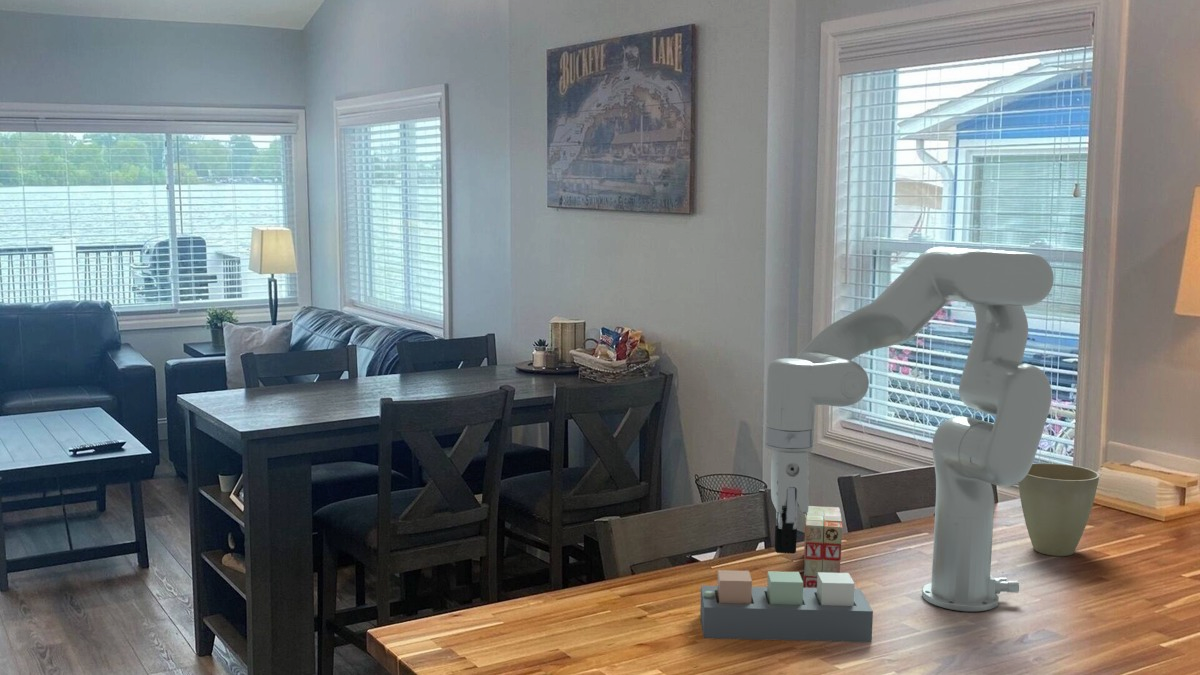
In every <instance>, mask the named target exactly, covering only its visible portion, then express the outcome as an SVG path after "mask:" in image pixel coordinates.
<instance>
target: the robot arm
mask: <svg viewBox="0 0 1200 675" xmlns="http://www.w3.org/2000/svg"><path fill="white" fill-rule="evenodd" d="M1053 285H1054V272H1053V269H1052V266H1051V264H1050V262H1048V261H1047V260H1046V258H1044V257H1043V256H1041V255H1040V254H1037V253H1031V252H1020V251H1007V250H999V249H997V250H996V249H974V248H960V247H958V248H957V247H948V246H946V247H945V246H936V247H932V248H929V249H927V250H925V251H924V252H923V253H921V254H920V255H919V256H918V257H917V258H916V259H915V260H914V261H913V262H912V263H911V264H910V265H909V266H908V267H907V268H906V269H905V270H903V272H901V274H900V275H899V276H898V277H897V278H895V280H894V281H893V282H892V283H891V284H890V285H889V286H888V287H887V288H885V290H883V291H882V292H881V293H880V294H879V295H878V296H877V297H876V298H875V299H874V300H873V301H872V302H870V303H869V304H867V305H865V306H862V307H861V308H858V309H857V310H854V311H853V312H851V313H849V314H847V315H845V316H843V317H842V318H840V319H838V320H836V321H834V322H833V323H831V324H830V325H828V326H827V327H825V328H824V329H823V330H821V331H820V332H818V334H817V335H815V336H814V338H812V339H811V340H810V341H809V342H808V343H807V344H806V346H804V348H802V350H800V352H799V353H798V354H797V356H796V357H795V358H791V357H790V358H789V357H788V358H787V357H786V358H777V359H774V360H772V361H771V362H770V363H769V364H768V367H767V375H766V380H767V382H766V405H765V408H766V409H765V433H764V436H765V437H764V447H765V448H766V449H768V450H771V465H770V496H771V502H772V504H773V506H774V509H775V510H776V513H775V514H776V522H775V524H776V525H775V527H774V550H775V552H776V553H777V554H796V552H797V537H798V536H797V534H798V529H797V523H798V522H797V520H798V508H799V510H800V512H801V513H802V514H803V515H805V514H807V513H808V506H809V455H808V452H810V451H812V450H814V448H815V447H814V444H815V439H814V438H815V422H816V421H815V420H816V418H815V417H816V415H815V414H816V406H828V407H837V408H839V407H843V408H844V407H850V406H853V405H855V404H857V403H859V402H860V401H861V400H863V398H864V397H865V396H866V394H867V393H868V390H869V385H870V383H869V376H868V374H867V372H866V370H865V369H864V368H863V367H862V366H861V365H860V364H859V363H857V362H855V361H853V359H855V358H857V357H859V356H860V355H863V354H864V353H867V352H870V351H875V350H878V349H881V348H882V349H883V348H887V347H892V346H895V345H899V344H902V343H906V342H908V341H911V339H914V337H915V336H917V334H918V333H919V332H920V331H921V330H922V329H923V328H924V327H925V326H926V325H927V324H928V323H929V322H930V321H931V319H933V317H935V316H936V314H938V313H939V312H940V311H941V310H942V309H943V307H944V306H946V305H947V304H948V303H950V302H960V303H968V304H972V307H973V309H974V314H975V322H976V324H975V328H974V333H973V338H972V341H971V344H970V347H969V351H968V353H967V357H966V360H965V363H964V367H963V371H962V372H961V373H962V374H961V377H960V380H959V386H958V395H959V399H960V400H961V402H962V403H963V404H964V406H966V407H967V408H970V409H971V410H975V411H976V412H977V411H978V412H980V413H984V414H987V415H992V416H995V419H994V422H993V423H992V422H989V421H985V420H981V419H977V418H975V417H969V416H955V417H950V418H948V419H945V420H944V421H943V422H942V423H940V425H938V427H937V429H936V430H935V433H934V435H933V438H932V458H933V464H934V472H935V488H936V490H935V507H934V508H935V509H934V529H933V531H934V532H933V546H932V547H933V548H932V567H931V568H932V569H931V570H932V571H931V582H929V583H926V584H924V585H923V587H922V588H921V597H922V598H923V599H924V600H925V601H926V602H928V603H929V604H931V605H934V606H937V607H939V608H943V609H946V610H953V611H959V612H960V611H961V612H985V611H989V610H992V609H994V608H996V607H997V606H998V605H999V599H1000V598H999V595H1000V593H1001V592H1003V593H1005V592H1006V593H1016V594H1017V593H1019V591H1020V584H1019V582H1018V580H1007V577H994V575H992V573H991V570H992V555H993V554H992V551H993V533H994V532H993V530H994V515H995V495H994V494H995V493H994V490H993V486H992V485H994V486H998V487H1005V488H1007V487H1013V486H1015V485H1019V484H1018V483H1019V482H1021V481H1022V480H1023V479H1024V478H1025V477H1026V475H1027V474H1028V472H1029V470H1030V468H1031V466H1032V464H1033V463H1034V461H1035V458H1036V454H1037V452H1038V448H1039V445H1040V442H1041V439H1042V436H1043V432H1044V429H1045V426H1046V423H1047V419H1048V416H1049V412H1050V409H1051V406H1052V405H1051V404H1052V397H1053V395H1052V394H1053V393H1052V388H1051V387H1052V385H1051V383H1050V380H1049V378H1048V376H1047V374H1046V373H1045V372H1044V371H1043V370H1042V369H1041V368H1039V367H1038V366H1035V365H1033V364H1030V363H1026V362H1023V358H1024V354H1025V350H1026V347H1027V342H1028V337H1029V324H1028V322H1029V321H1028V318H1027V315H1026V312H1025V309H1024V307H1029V306H1034V305H1037V304H1038V303H1040V302H1042V301H1043V300H1044V299H1046V297H1047V296H1049V294H1050V293H1051V291H1052V289H1053Z"/></svg>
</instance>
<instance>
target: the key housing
mask: <svg viewBox="0 0 1200 675" xmlns="http://www.w3.org/2000/svg"><path fill="white" fill-rule="evenodd" d="M699 608H700V622H701V630H702V636H703V639H715V640H716V639H719V640H722V639H723V640H757V641H758V640H762V641H763V640H766V641H799V642H800V641H802V642H808V641H809V642H842V643H843V642H844V643H846V642H848V643H849V642H850V643H851V642H852V643H872V642H873V640H872V639H873V624H874V623H873V617H874V611H873V609H872V606H871V605H870V604H869V601H868V599H867V598H866V596H865V595H864V593H863V591H862V589H861V588H854V606H831V605H819V603H818V601H817V588H803V602H802V605H787V604H768V602H767V586H752V597H751V604H743V603H718V602H717V585H700V607H699Z"/></svg>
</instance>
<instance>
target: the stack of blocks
mask: <svg viewBox="0 0 1200 675" xmlns="http://www.w3.org/2000/svg"><path fill="white" fill-rule="evenodd" d="M842 538H843V520H842V514H841V509H840V507H838V506H836V507H835V506H814V505H808V513H807V514H804V541H803V542H804V544H803V545H804V548H803V550H804V551H803V552H804V555H803V560H804V561H803V569H804V570H803V588H817V574H818V572H825V573H841V558H842V542H843V541H842V540H843V539H842Z"/></svg>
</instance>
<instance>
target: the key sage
mask: <svg viewBox="0 0 1200 675" xmlns="http://www.w3.org/2000/svg"><path fill="white" fill-rule="evenodd" d="M766 579H767V580H766V581H767V582H766V584H767V586H766V587H767V602H768V604H787V605H802V602H803V587H804V580H803V578H802V576H801V574H800V572H799V571H777V570H776V571H771V570H770V571H769V570H767V578H766Z"/></svg>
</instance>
